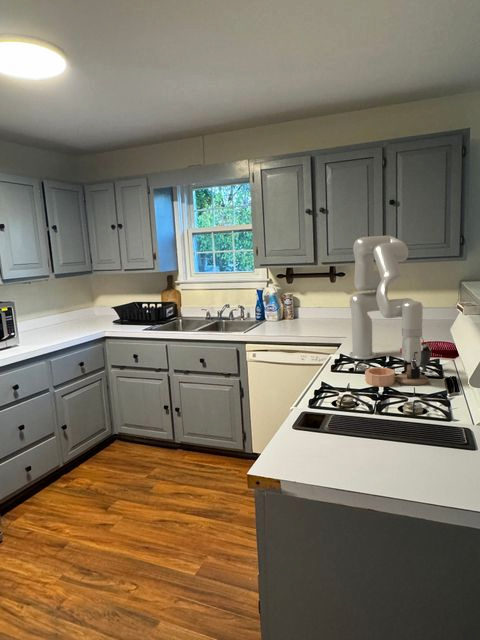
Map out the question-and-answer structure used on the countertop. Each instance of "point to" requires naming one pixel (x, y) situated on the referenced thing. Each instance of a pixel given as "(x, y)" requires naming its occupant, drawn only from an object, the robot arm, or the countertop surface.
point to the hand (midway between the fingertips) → (411, 374)
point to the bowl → (380, 376)
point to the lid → (407, 379)
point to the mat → (421, 385)
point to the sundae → (425, 355)
